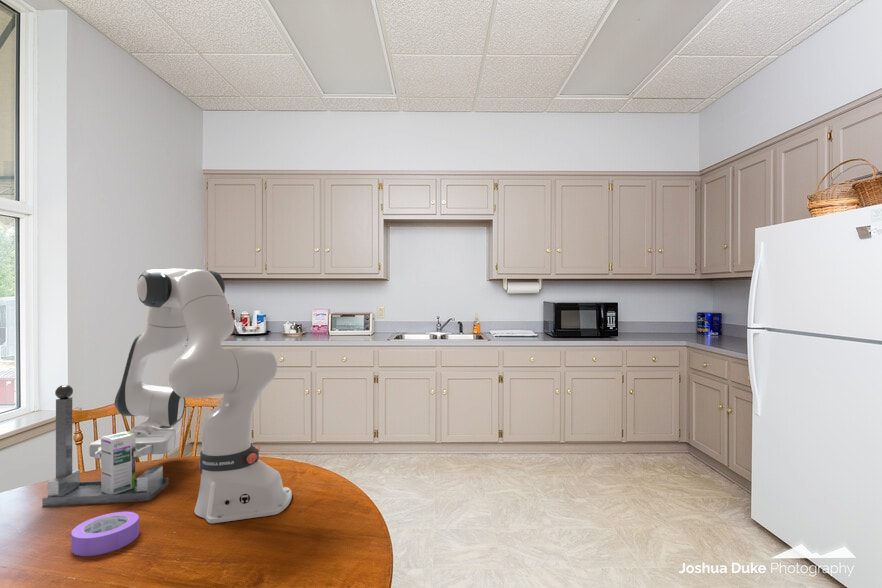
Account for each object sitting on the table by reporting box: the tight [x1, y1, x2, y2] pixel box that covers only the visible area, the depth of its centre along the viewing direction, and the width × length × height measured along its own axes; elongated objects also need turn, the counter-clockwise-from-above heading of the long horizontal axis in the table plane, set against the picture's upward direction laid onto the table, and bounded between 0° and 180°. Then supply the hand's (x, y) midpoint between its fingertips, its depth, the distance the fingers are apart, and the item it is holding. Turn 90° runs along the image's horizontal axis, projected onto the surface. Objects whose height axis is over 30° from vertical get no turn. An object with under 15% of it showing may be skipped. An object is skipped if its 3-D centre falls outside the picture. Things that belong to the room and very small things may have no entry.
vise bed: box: [41, 465, 169, 507], centre depth 120 cm, size 25×10×6 cm, turn 97°
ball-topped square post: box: [47, 384, 81, 497], centre depth 119 cm, size 4×8×28 cm, turn 7°
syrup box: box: [100, 431, 136, 494], centre depth 121 cm, size 6×6×14 cm
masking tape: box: [70, 511, 140, 557], centre depth 98 cm, size 12×12×4 cm
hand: (116, 455), depth 120 cm, fingers open, 8 cm apart
